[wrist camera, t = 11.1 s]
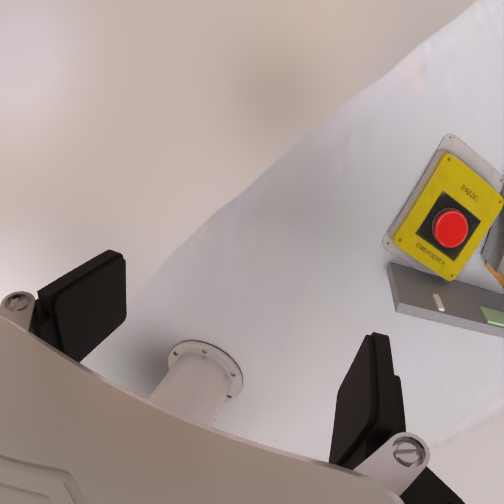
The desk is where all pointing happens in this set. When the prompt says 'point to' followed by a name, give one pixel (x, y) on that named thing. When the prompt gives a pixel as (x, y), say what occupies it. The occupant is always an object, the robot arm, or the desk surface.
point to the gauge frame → (446, 300)
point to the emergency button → (447, 211)
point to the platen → (496, 247)
